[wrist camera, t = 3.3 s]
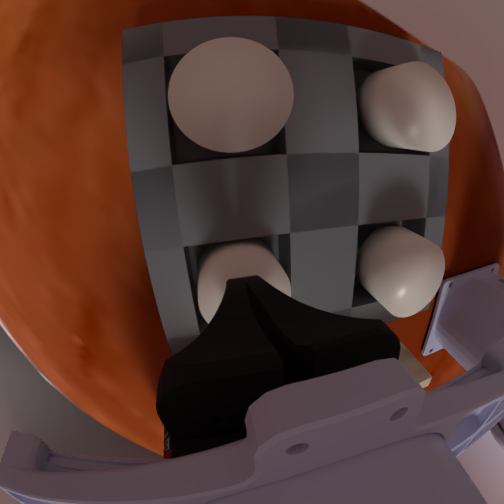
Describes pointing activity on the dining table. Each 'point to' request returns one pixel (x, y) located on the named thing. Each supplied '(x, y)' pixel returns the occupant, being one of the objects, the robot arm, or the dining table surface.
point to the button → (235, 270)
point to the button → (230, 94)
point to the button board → (275, 167)
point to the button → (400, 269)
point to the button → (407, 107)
